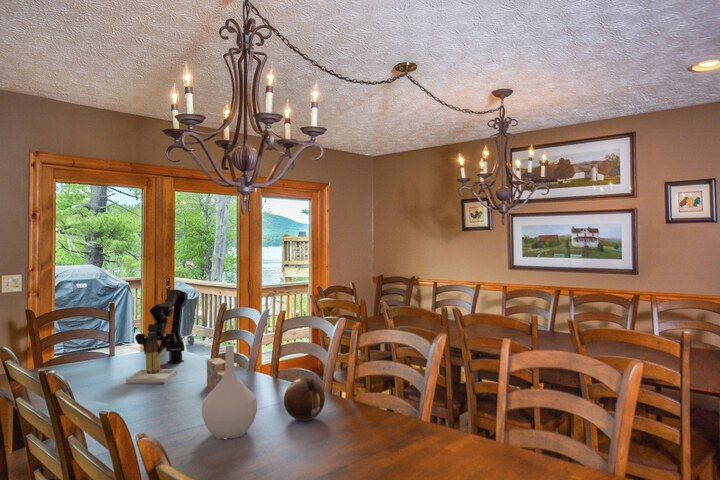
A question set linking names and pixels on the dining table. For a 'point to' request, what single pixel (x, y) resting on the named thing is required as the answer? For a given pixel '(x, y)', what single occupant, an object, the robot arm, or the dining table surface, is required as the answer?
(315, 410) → the wooden sphere
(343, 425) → the dining table surface
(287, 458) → the dining table surface
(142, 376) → the tray
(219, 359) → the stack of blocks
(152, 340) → the sauce bottle
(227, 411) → the vase
